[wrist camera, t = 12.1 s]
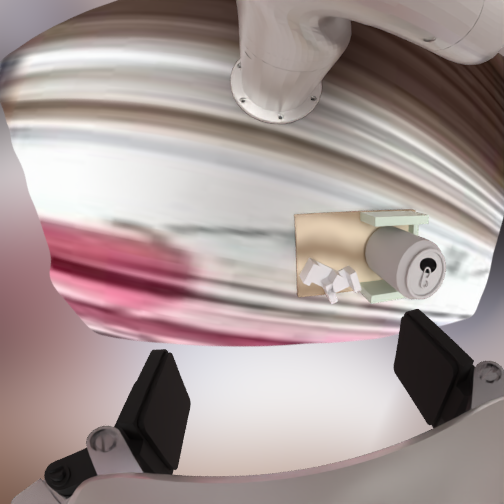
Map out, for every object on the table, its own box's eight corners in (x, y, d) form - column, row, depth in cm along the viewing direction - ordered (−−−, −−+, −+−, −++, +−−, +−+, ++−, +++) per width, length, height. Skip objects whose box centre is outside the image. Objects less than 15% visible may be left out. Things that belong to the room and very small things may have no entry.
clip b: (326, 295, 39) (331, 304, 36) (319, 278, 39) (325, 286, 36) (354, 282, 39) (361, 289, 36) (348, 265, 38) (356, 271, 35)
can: (409, 231, 37) (457, 250, 25) (395, 276, 39) (437, 307, 27) (370, 219, 36) (415, 236, 25) (356, 268, 38) (394, 301, 27)
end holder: (360, 212, 36) (375, 217, 31) (413, 210, 36) (432, 215, 31) (358, 290, 39) (370, 303, 34) (409, 282, 39) (424, 294, 34)
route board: (294, 214, 37) (295, 215, 36) (412, 209, 37) (415, 210, 36) (297, 294, 40) (298, 297, 39) (407, 280, 40) (410, 282, 39)
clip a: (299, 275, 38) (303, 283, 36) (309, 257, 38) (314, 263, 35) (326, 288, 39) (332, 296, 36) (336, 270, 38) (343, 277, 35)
